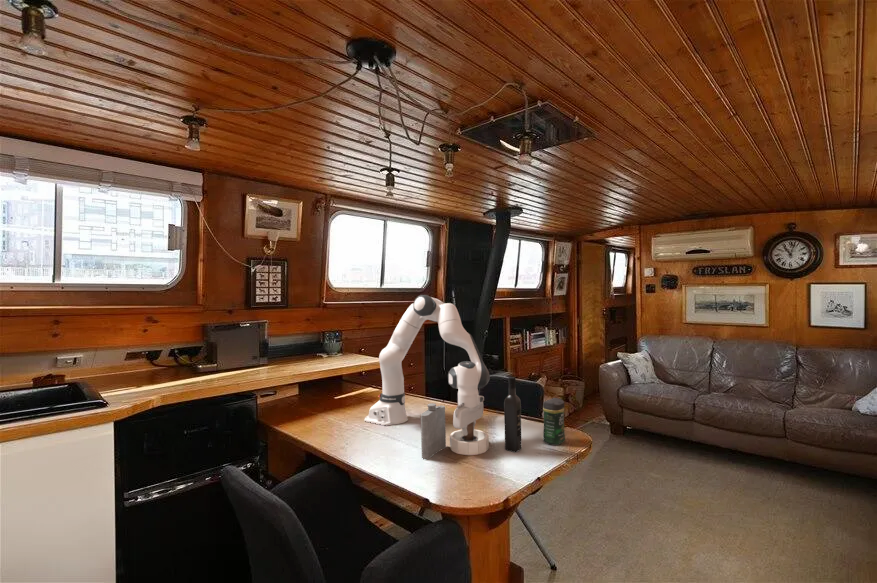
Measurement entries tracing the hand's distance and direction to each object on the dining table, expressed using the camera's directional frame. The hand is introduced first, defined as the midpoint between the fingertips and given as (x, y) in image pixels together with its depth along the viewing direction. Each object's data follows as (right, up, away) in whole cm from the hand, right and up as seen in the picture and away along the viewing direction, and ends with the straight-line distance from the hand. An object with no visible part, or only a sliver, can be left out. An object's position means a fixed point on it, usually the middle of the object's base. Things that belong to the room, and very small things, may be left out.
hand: (468, 433), depth 178 cm
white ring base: (0, -6, 0) cm, 6 cm away
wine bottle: (+18, -6, -3) cm, 19 cm away
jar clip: (0, -6, 0) cm, 6 cm away
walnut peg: (0, -4, 0) cm, 4 cm away
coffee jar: (+37, -5, +4) cm, 38 cm away
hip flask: (-15, -7, -4) cm, 17 cm away
